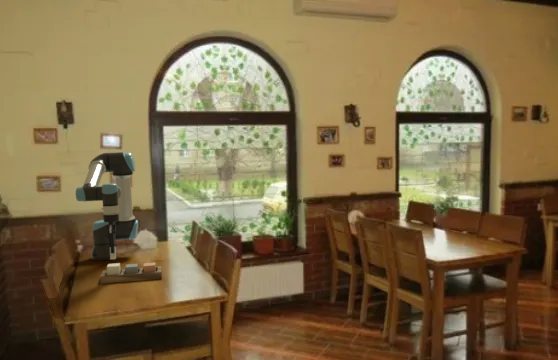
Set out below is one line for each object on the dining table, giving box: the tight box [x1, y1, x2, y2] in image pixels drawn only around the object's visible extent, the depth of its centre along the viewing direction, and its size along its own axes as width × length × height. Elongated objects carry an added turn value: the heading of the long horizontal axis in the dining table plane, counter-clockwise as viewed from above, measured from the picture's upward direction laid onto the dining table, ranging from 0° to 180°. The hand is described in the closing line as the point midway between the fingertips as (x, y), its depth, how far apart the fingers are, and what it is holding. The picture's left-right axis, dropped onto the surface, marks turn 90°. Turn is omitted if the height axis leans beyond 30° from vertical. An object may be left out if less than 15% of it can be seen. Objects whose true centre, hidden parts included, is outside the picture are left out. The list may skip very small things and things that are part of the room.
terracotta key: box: [143, 261, 157, 272], centre depth 254 cm, size 6×6×4 cm
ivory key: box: [106, 262, 122, 275], centre depth 250 cm, size 6×6×4 cm
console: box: [99, 265, 163, 285], centre depth 252 cm, size 12×30×4 cm, turn 103°
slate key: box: [124, 263, 139, 274], centre depth 252 cm, size 6×6×4 cm
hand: (113, 258), depth 249 cm, fingers closed
